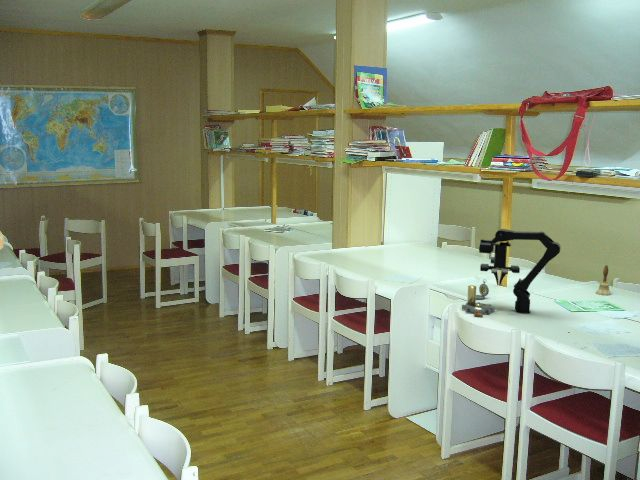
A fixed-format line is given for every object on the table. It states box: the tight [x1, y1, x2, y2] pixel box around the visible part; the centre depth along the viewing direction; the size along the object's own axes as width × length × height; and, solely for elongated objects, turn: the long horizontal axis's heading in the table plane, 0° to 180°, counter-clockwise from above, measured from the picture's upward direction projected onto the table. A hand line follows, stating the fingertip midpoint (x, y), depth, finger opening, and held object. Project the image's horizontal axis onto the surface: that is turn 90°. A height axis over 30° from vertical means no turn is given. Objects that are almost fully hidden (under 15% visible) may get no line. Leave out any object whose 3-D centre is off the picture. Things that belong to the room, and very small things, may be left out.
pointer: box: [473, 313, 484, 319], centre depth 320 cm, size 4×3×1 cm
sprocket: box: [461, 284, 496, 315], centre depth 329 cm, size 16×16×11 cm
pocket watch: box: [476, 278, 490, 300], centre depth 355 cm, size 8×8×10 cm
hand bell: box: [595, 264, 612, 296], centre depth 369 cm, size 8×8×16 cm
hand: (498, 285), depth 333 cm, fingers closed
